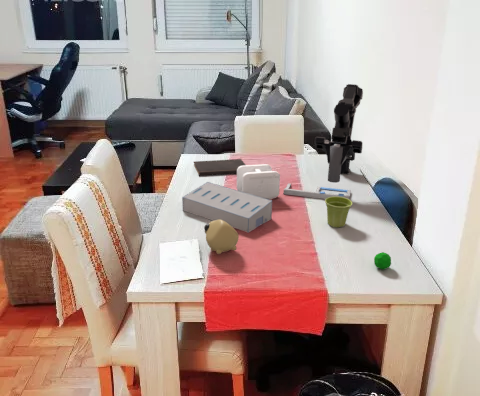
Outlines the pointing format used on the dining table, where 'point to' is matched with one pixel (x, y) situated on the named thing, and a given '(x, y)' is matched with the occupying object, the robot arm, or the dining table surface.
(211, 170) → the hardcover book
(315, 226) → the dining table surface
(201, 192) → the warehouse
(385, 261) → the polyhedron
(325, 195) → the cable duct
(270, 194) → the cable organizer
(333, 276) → the dining table surface
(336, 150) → the grey bottle
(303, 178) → the dining table surface
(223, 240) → the tan rounded figure
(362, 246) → the dining table surface
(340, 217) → the plant pot
